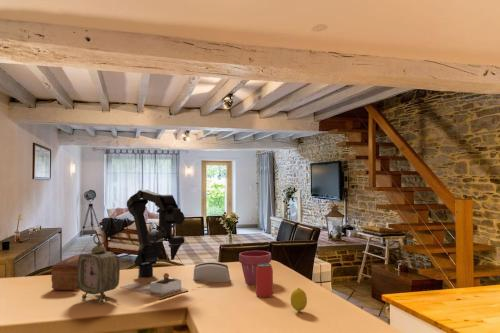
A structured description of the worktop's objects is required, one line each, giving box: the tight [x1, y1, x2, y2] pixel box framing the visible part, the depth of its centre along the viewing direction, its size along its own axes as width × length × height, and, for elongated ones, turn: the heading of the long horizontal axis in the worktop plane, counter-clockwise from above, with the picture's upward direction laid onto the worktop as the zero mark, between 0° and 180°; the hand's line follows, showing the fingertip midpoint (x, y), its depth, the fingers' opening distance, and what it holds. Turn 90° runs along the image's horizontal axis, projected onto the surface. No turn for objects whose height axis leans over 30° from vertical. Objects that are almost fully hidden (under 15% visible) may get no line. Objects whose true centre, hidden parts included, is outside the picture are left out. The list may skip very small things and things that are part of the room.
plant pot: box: [238, 250, 272, 285], centre depth 167 cm, size 14×14×13 cm
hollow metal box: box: [150, 276, 182, 296], centre depth 149 cm, size 7×10×4 cm
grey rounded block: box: [193, 261, 231, 283], centre depth 169 cm, size 17×5×10 cm, turn 88°
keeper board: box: [119, 272, 189, 301], centre depth 154 cm, size 26×14×8 cm, turn 54°
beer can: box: [255, 263, 274, 299], centre depth 146 cm, size 7×7×12 cm
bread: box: [50, 253, 82, 291], centre depth 167 cm, size 14×28×12 cm, turn 176°
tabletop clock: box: [78, 233, 121, 305], centre depth 143 cm, size 14×9×25 cm, turn 56°
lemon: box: [290, 287, 308, 313], centre depth 127 cm, size 6×6×8 cm
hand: (165, 258), depth 165 cm, fingers open, 9 cm apart
